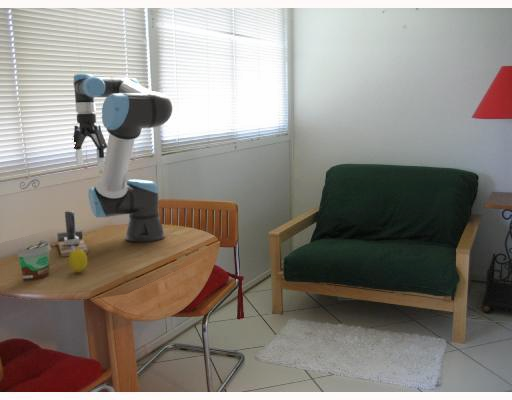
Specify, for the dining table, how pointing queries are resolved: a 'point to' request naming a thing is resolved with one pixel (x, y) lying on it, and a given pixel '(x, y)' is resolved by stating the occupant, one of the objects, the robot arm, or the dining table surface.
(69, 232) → the press handle
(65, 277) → the dining table surface
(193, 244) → the dining table surface
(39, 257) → the food container
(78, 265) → the lemon
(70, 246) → the press bench
